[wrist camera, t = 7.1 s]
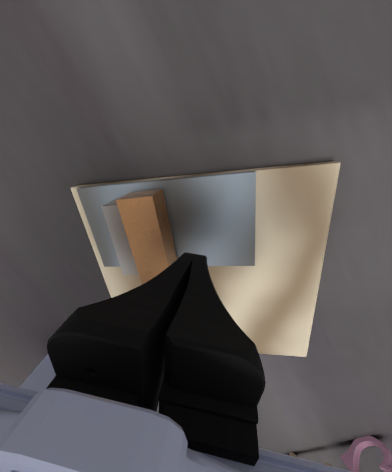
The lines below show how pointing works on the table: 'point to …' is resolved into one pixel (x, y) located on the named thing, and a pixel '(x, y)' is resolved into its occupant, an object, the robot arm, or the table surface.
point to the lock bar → (148, 231)
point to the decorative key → (352, 456)
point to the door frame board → (234, 241)
